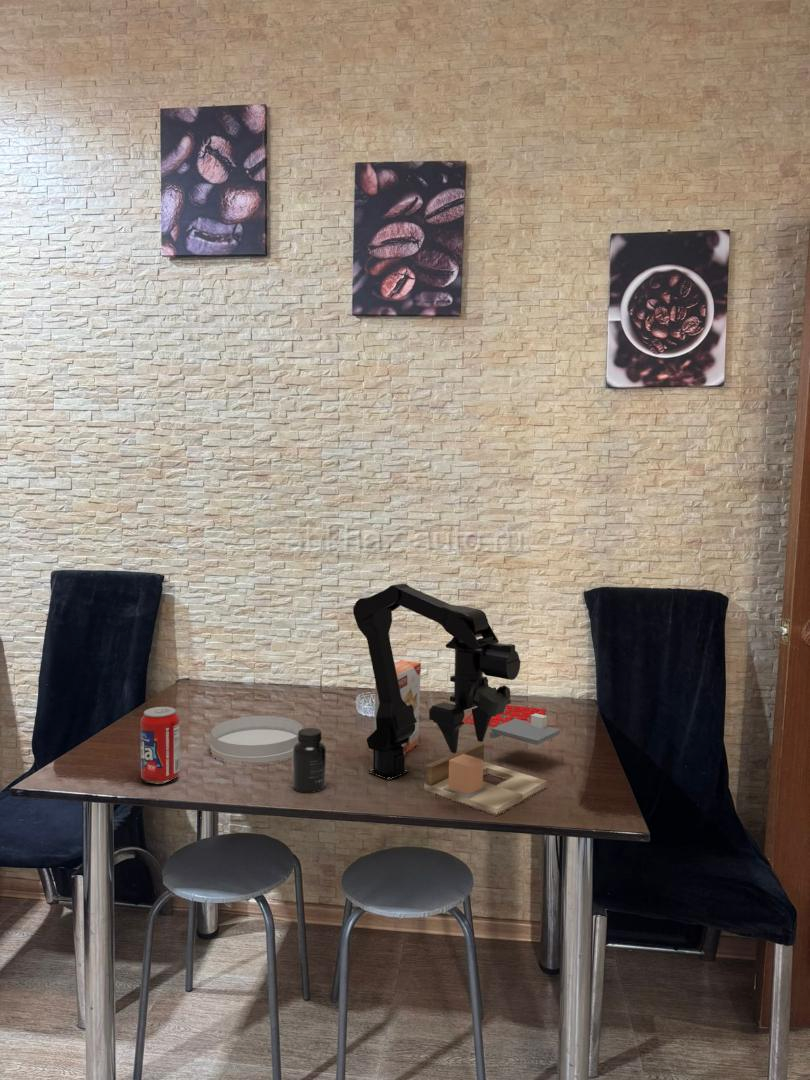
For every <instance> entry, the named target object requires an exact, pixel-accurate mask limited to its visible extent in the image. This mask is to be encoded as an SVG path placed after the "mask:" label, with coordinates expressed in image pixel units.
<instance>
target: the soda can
mask: <svg viewBox="0 0 810 1080" xmlns="http://www.w3.org/2000/svg"><path fill="white" fill-rule="evenodd" d="M180 751H181V750H180V716H179V715H178V714H177V710H176V708H174V707H171V706H156V707H151V708H148V709H145V710H144V711H143V716H142V717H141V718H140V779H141V778H142V779H144V780H147V781H166V780H171V779H173V778H175V777H177V776H178V775H179V776H180V771H181V770H180V765H181V764H180V753H181V752H180ZM179 776H178V777H179ZM178 777H177V778H178ZM142 779H141V780H142Z"/></svg>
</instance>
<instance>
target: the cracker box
mask: <svg viewBox="0 0 810 1080" xmlns="http://www.w3.org/2000/svg"><path fill="white" fill-rule="evenodd" d="M394 663H395V668H396V673H397V678H398V683H399V688H400V693H401V698H402V700H403V701H404V702H405V703H406V705H407V706H408V705H413V708H414V716H415V719H416V721H417V723H415V731H414V732H413V734H412V735H411V736H410V738H409V741H408V743H405V744H402V745H401V746H403V747H404V754H405V753H406V752H408V751H409V750H411V749H412V748H413V747H415V746H416V745H417V744H418V745H419V729H420V725H419V724H420V703H421V702H420V700H421V698H420V697H421V675H422V674H421V671H422V669H421V668H422V663H421V662H418V661H410V660H399V661H396V662H394ZM374 685H375V687H374V688H375V690H374V720H373V721H374V722H373V723H374V724H373V732H374V731H375V730H377V728H376V715H377V711H378V707H379V698H378V692H377V687H376V682H375V684H374ZM416 747H417V746H416ZM416 747H415V748H416ZM413 749H414V748H413ZM413 749H412V750H413ZM412 750H411V751H412ZM409 752H410V751H409ZM409 752H408V753H409ZM405 755H406V754H405Z"/></svg>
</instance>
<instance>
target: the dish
mask: <svg viewBox="0 0 810 1080" xmlns="http://www.w3.org/2000/svg"><path fill="white" fill-rule="evenodd" d="M301 729H304V725H303V724H301V723H300V721H297V720H295V719H292V718H288V717H285V716H275V715H250V716H242V717H237V718H232V719H228V720H225V721H223V722H221V723H218V724H216V725H215V726H214V727H212V729H211V731H210V735H211V736H210V737H211V738H210V739H211V740H210V745H209V747H210V749H211V750H212V752H213V753H215V754H217V755H218V756H221V757H223V758H227V759H230V760H237V761H248V762H268V761H276V760H281V759H285V758H288V757H291V756H293V748H294V746H295V745H296V744H297V743H298V742H299V741H298V732H299V731H300V730H301ZM210 749H209V750H210Z"/></svg>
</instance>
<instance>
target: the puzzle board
mask: <svg viewBox="0 0 810 1080" xmlns="http://www.w3.org/2000/svg"><path fill="white" fill-rule="evenodd" d="M462 754H466V755H469V756H472V757H476V758H479V759H482V760H483V774H485V773H491V774H495V775H497V776H501V777H504V778H507V779H508V780H503V781H502V782H500V783H498V784H497V785H496V784H492V783H490V782H486V781H483V788H482V789H480V790H478V791H476V792H474V793H472V794H470V795H465V794H462V793H459V792H457V791H454V790H451V789H448V787H449V760H451V759H453V758H455V757H457V756H460V755H462ZM484 755H485V744H484V743H482V742H478V743H475V744H473V745H471V746H468V747H465V748H463V749H461V750H459V751H458V750H457V752H456V753H452V754H449V755H447V756H445V757H444V756H443V758H440V759H438V760H435V761H433V762H431V763H429V764H427V765H425V782H424V784H423V785H424V788H423V789H426V790H429V791H431V792H434V793H437V794H439V795H442V796H445V797H448V798H450V799H453V800H456V801H459V802H462V803H466V804H469V805H473V806H476V807H479V808H482V809H485V810H487V811H490V812H493V813H496V814H497V813H498V812H500V811H502V810H504V809H505V808H507V807H509V806H511V805H513V804H514V803H516V802H518V801H519V800H521V799H523V798H525V797H527V796H528V795H530V794H532V793H533V792H535V791H537V790H539V789H540V788H542V787H544V786H546V785H548V783H547V782H548V781H547V780H545V779H541V778H539V777H535V776H532V775H529V774H526V773H522V772H519V771H516V770H512V769H510V768H507V767H503V766H499V765H495V764H493V763H489V762H487V761H485V760H484V759H485V756H484Z"/></svg>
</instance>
